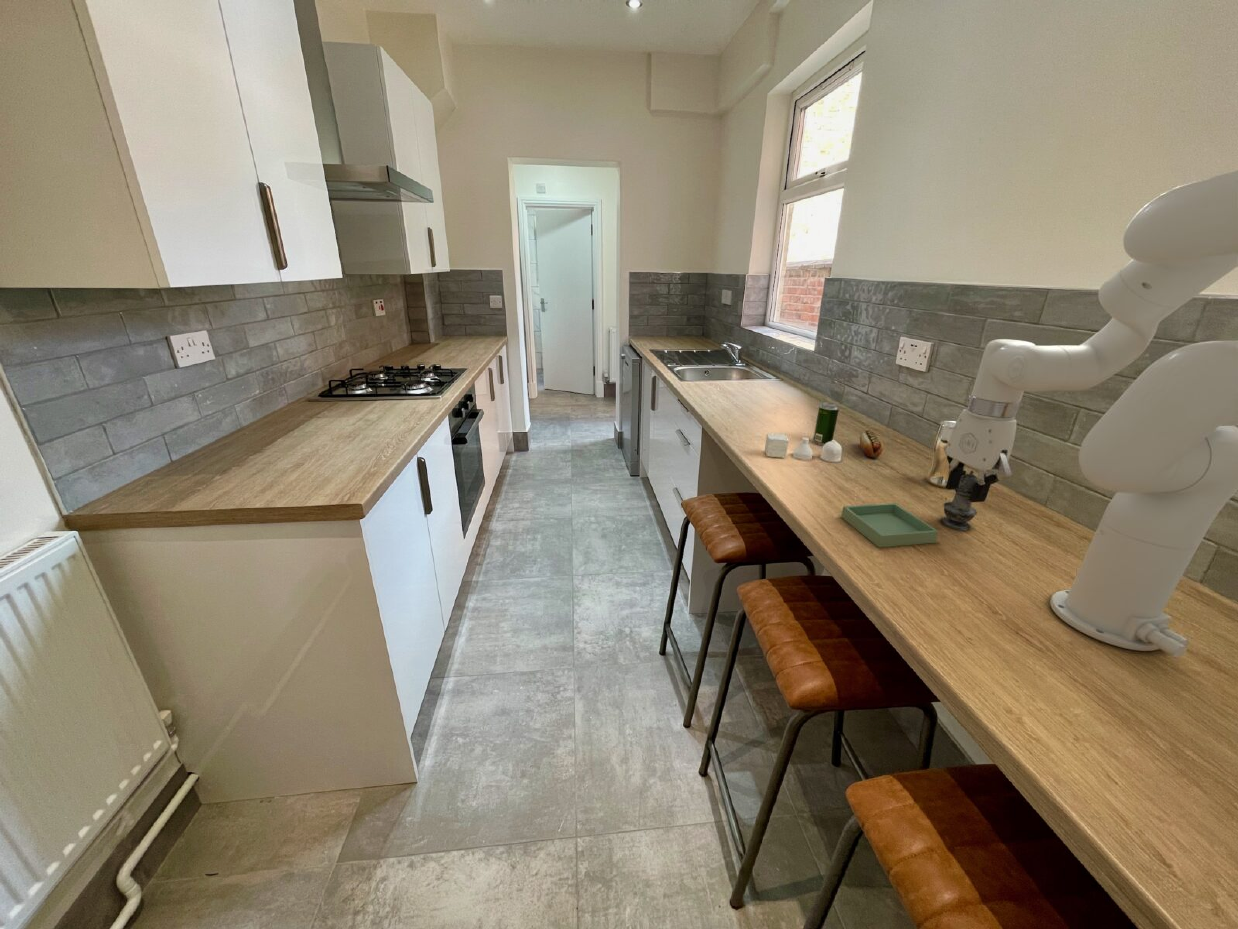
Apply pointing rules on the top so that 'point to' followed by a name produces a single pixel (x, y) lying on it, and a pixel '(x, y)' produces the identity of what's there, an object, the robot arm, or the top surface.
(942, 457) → the beer glass
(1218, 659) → the top surface
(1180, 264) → the robot arm
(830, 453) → the container set
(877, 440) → the hot dog
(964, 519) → the salt shaker
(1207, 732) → the top surface
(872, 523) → the serving tray
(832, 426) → the beer can
